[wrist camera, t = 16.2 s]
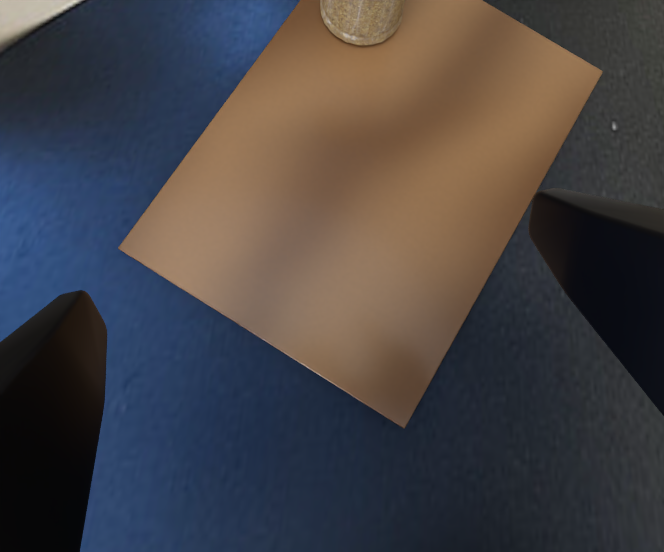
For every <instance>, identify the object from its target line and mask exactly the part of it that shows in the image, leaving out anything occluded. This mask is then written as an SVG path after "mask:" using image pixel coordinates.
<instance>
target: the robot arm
mask: <svg viewBox="0 0 664 552" xmlns="http://www.w3.org/2000/svg"><path fill="white" fill-rule="evenodd" d="M529 235H530V238H531V240H532V241H533V243H534V244H535V246H536V248H537V249H538V251H539V252H540V254H541V255H542V257H543V259H544V260H545V262H546V263H547V265H548V267H549V268H550V270H551V271H552V273H553V275H554V276H555V278H556V279H557V281H558V283H559V284H560V286H561V287H562V288H563V290H564V291H565V293H566V294H567V295H568V297H569V298H570V299H571V301H572V302H573V303H574V305H575V306H576V307H577V308H578V310H579V311H580V312H581V313H582V315H583V316H584V317H585V318H586V320H587V321H588V322H589V323H590V325H591V326H592V327H593V328H594V330H595V331H596V332H597V333H598V335H599V336H600V337H601V338H602V340H603V341H604V342H605V343H606V345H607V346H608V347H609V348H610V349H611V351H612V352H613V353H614V354H615V356H616V357H617V358H618V359H619V361H620V362H621V363H622V364H623V366H624V367H625V368H626V369H627V371H628V372H629V373H630V374H631V376H632V377H633V378H634V379H635V381H636V382H637V383H638V384H639V386H640V387H641V388H642V389H643V391H644V392H645V393H646V394H647V396H648V397H649V398H650V399H651V401H652V402H653V403H654V404H655V406H656V407H657V408H658V409H659V411H660V412H661V413H662V414H663V416H664V209H659V208H654V207H649V206H644V205H639V204H634V203H629V202H624V201H619V200H614V199H609V198H604V197H599V196H594V195H589V194H584V193H579V192H574V191H569V190H564V189H559V188H553V189H548V190H543V191H539V192H537V193H536V194H535V196H534V198H533V201H532V208H531V214H530V221H529ZM106 353H107V329H106V325H105V323H104V321H103V319H102V317H101V315H100V314H99V312H98V310H97V308H96V306H95V304H94V303H93V301H92V299H91V297H90V296H89V294H88V293H87V292H85V291H83V290H80V291H75V292H70V293H65V294H62V295H60V296H58V297H57V298H56V299H54V300H53V301H52V302H51V303H49V304H48V305H47V306H46V307H44V308H43V309H42V310H41V311H39V312H38V313H37V314H36V315H34V316H33V317H32V318H30V319H29V320H28V321H27V322H25V323H24V324H23V325H22V326H20V327H19V328H18V329H17V330H15V331H14V332H13V333H12V334H10V335H9V336H8V337H6V338H5V339H4V340H3V341H1V342H0V552H80V547H81V541H82V535H83V529H84V523H85V517H86V511H87V505H88V499H89V493H90V487H91V481H92V475H93V469H94V463H95V457H96V451H97V446H98V440H99V434H100V428H101V422H102V416H103V409H104V400H105V381H106Z"/></svg>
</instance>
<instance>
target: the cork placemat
mask: <svg viewBox="0 0 664 552" xmlns="http://www.w3.org/2000/svg"><path fill="white" fill-rule="evenodd" d="M602 72H603V71H601V70H600V69H598V68H596V67H594V66H593V65H591V64H589V63H588V62H586V61H584V60H583V59H581V58H579V57H577V56H576V55H574V54H572V53H571V52H569V51H567V50H566V49H564V48H562V47H561V46H559V45H557V44H555V43H554V42H552V41H550V40H549V39H547V38H545V37H544V36H542V35H540V34H538V33H537V32H535V31H533V30H532V29H530V28H528V27H527V26H525V25H523V24H521V23H520V22H518V21H516V20H515V19H513V18H511V17H510V16H508V15H506V14H504V13H503V12H501V11H499V10H498V9H496V8H494V7H493V6H491V5H489V4H487V3H486V2H484V1H482V0H405V3H404V11H403V15H402V21H401V23H400V25H399V27H398V29H397V30H396V31H395V32H394V33H393V34H392V35H391V36H390V37H388V38H387V39H386V40H384V41H383V42H380V43H376V44H373V45H355V44H352V43H347V42H345V41H343V40H342V39H340V38H338V37H337V36H335V35H334V34H333V33H332V32H331V31H330V30H329V29H328V27H327V26H326V25H325V24H324V21H323V18H322V16H321V10H320V0H300V2H299V3H298V4H297V6H296V7H295V8H294V10H293V11H292V12H291V14H290V15H289V17H288V18H287V19H286V21H285V22H284V23H283V25H282V26H281V27H280V29H279V30H278V31H277V33H276V34H275V36H274V37H273V38H272V40H271V41H270V42H269V44H268V45H267V46H266V48H265V49H264V51H263V52H262V53H261V55H260V56H259V57H258V59H257V60H256V61H255V63H254V64H253V65H252V67H251V68H250V70H249V71H248V72H247V74H246V75H245V76H244V78H243V79H242V80H241V82H240V83H239V84H238V86H237V87H236V89H235V90H234V91H233V93H232V94H231V95H230V97H229V98H228V99H227V101H226V102H225V103H224V105H223V106H222V108H221V109H220V110H219V112H218V113H217V114H216V116H215V117H214V118H213V120H212V121H211V123H210V124H209V125H208V127H207V128H206V129H205V131H204V132H203V133H202V135H201V136H200V137H199V139H198V140H197V142H196V143H195V144H194V146H193V147H192V148H191V150H190V151H189V152H188V154H187V155H186V156H185V158H184V159H183V161H182V162H181V163H180V165H179V166H178V167H177V169H176V170H175V171H174V173H173V174H172V175H171V177H170V178H169V180H168V181H167V182H166V184H165V185H164V186H163V188H162V189H161V190H160V192H159V193H158V194H157V196H156V197H155V199H154V200H153V201H152V203H151V204H150V205H149V207H148V208H147V209H146V211H145V212H144V214H143V215H142V216H141V218H140V219H139V220H138V222H137V223H136V224H135V226H134V227H133V228H132V230H131V231H130V233H129V234H128V235H127V237H126V238H125V239H124V241H123V242H122V243H121V245H120V246H119V248H118V249H119V250H121V251H123V252H124V253H126V254H127V255H129V256H131V257H132V258H134V259H135V260H137V261H139V262H140V263H142V264H143V265H145V266H147V267H148V268H150V269H151V270H153V271H154V272H156V273H158V274H159V275H161V276H162V277H164V278H166V279H167V280H169V281H170V282H172V283H174V284H175V285H177V286H178V287H180V288H181V289H183V290H185V291H186V292H188V293H189V294H191V295H193V296H194V297H196V298H197V299H199V300H201V301H202V302H204V303H205V304H207V305H209V306H210V307H212V308H213V309H215V310H216V311H218V312H220V313H221V314H223V315H224V316H226V317H228V318H229V319H231V320H232V321H234V322H236V323H237V324H239V325H240V326H242V327H243V328H245V329H247V330H248V331H250V332H251V333H253V334H255V335H256V336H258V337H259V338H261V339H263V340H264V341H266V342H267V343H269V344H270V345H272V346H274V347H275V348H277V349H278V350H280V351H282V352H283V353H285V354H286V355H288V356H290V357H291V358H293V359H294V360H296V361H298V362H299V363H301V364H302V365H304V366H305V367H307V368H309V369H310V370H312V371H313V372H315V373H317V374H318V375H320V376H321V377H323V378H325V379H326V380H328V381H329V382H331V383H332V384H334V385H336V386H337V387H339V388H340V389H342V390H344V391H345V392H347V393H348V394H350V395H352V396H353V397H355V398H356V399H358V400H359V401H361V402H363V403H364V404H366V405H367V406H369V407H371V408H372V409H374V410H375V411H377V412H379V413H380V414H382V415H383V416H385V417H387V418H388V419H390V420H391V421H393V422H394V423H396V424H398V425H399V426H401V427H402V428H405V427H406V425H407V423H408V421H409V420H410V418H411V416H412V414H413V412H414V411H415V409H416V407H417V405H418V403H419V402H420V400H421V398H422V396H423V394H424V393H425V391H426V389H427V387H428V385H429V384H430V382H431V380H432V378H433V376H434V375H435V373H436V371H437V369H438V367H439V366H440V364H441V362H442V360H443V358H444V357H445V355H446V353H447V351H448V349H449V348H450V346H451V344H452V342H453V340H454V339H455V337H456V335H457V333H458V331H459V330H460V328H461V326H462V324H463V322H464V321H465V319H466V317H467V315H468V314H469V312H470V310H471V308H472V306H473V305H474V303H475V301H476V299H477V297H478V296H479V294H480V292H481V290H482V288H483V287H484V285H485V283H486V281H487V279H488V278H489V276H490V274H491V272H492V270H493V269H494V267H495V265H496V263H497V261H498V260H499V258H500V256H501V254H502V252H503V251H504V249H505V247H506V245H507V243H508V242H509V240H510V238H511V236H512V234H513V233H514V231H515V229H516V227H517V225H518V224H519V222H520V220H521V218H522V216H523V215H524V213H525V211H526V209H527V207H528V206H529V204H530V202H531V200H532V198H533V197H534V195H535V193H536V191H537V189H538V188H539V186H540V184H541V182H542V180H543V179H544V177H545V175H546V173H547V171H548V170H549V168H550V166H551V164H552V162H553V161H554V159H555V157H556V155H557V153H558V152H559V150H560V148H561V146H562V144H563V143H564V141H565V139H566V137H567V135H568V134H569V132H570V130H571V128H572V126H573V125H574V123H575V121H576V119H577V117H578V116H579V114H580V112H581V110H582V108H583V107H584V105H585V103H586V101H587V99H588V98H589V96H590V94H591V92H592V90H593V89H594V87H595V85H596V83H597V82H598V80H599V78H600V76H601V74H602Z"/></svg>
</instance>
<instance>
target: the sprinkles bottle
mask: <svg viewBox="0 0 664 552" xmlns="http://www.w3.org/2000/svg"><path fill="white" fill-rule="evenodd" d="M404 3H405V0H320V10H321V16H322V18H323V21H324V24H325V25H326V26H327V27H328V29H329V30H330V31H331V32H332V33H333V34H334V35H335V36H337V37H338V38H340V39H342V40H343V41H345V42H347V43H352V44H355V45H373V44H376V43H380V42H383V41H384V40H386V39H387V38H388V37H390V36H391V35H392V34H393V33H394V32H395V31H396V30H397V29H398V27H399V25H400V23H401V21H402V15H403V11H404Z"/></svg>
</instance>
